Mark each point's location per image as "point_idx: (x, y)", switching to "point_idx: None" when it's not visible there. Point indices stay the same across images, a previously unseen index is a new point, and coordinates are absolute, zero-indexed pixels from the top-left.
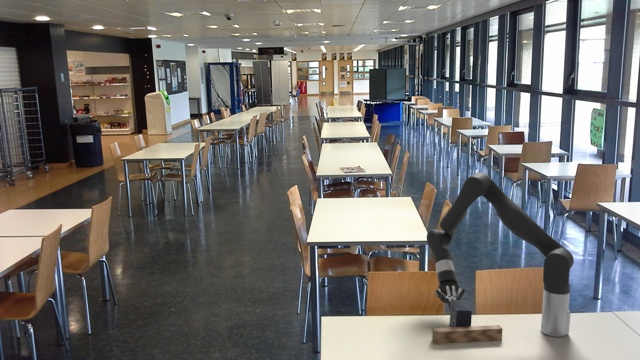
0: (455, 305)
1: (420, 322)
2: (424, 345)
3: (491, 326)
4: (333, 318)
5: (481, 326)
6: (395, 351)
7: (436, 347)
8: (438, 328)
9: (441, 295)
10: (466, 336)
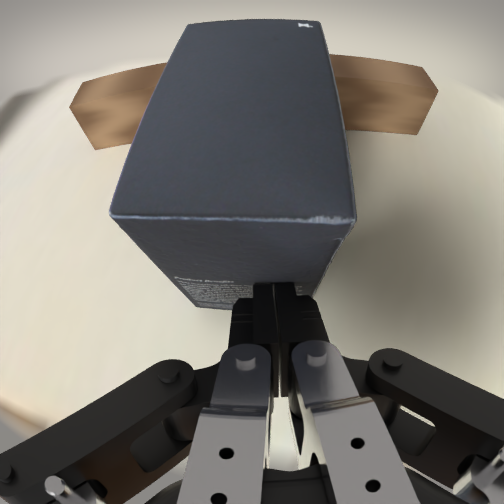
0: (315, 65)
1: (476, 333)
2: (438, 113)
3: (113, 87)
4: None
5: None
6: (500, 110)
7: None
8: (411, 81)
9: (474, 402)
10: None
